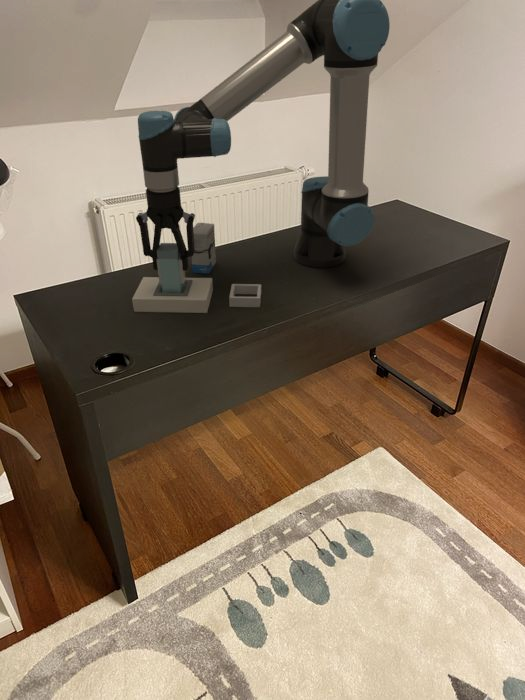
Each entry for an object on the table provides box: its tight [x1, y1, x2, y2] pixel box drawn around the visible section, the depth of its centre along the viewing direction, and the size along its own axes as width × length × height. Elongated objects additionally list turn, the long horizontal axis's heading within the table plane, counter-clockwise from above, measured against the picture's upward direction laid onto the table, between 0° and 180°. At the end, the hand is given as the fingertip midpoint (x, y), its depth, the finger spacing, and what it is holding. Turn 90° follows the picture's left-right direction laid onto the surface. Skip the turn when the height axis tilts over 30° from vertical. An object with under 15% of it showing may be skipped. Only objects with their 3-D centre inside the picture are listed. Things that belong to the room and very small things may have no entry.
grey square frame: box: [228, 283, 262, 308], centre depth 133 cm, size 8×8×2 cm
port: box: [131, 276, 214, 314], centre depth 132 cm, size 18×12×4 cm, turn 88°
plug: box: [157, 242, 184, 293], centre depth 128 cm, size 5×5×12 cm
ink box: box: [190, 222, 217, 275], centre depth 146 cm, size 8×5×12 cm, turn 168°
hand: (172, 281), depth 130 cm, fingers closed on plug, 4 cm apart
